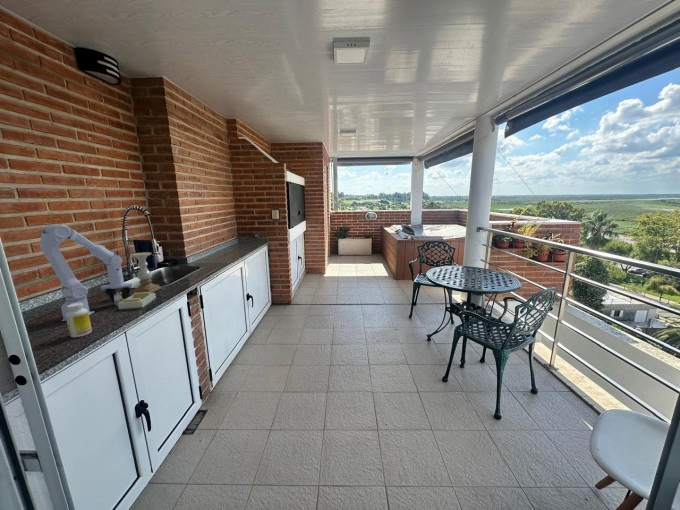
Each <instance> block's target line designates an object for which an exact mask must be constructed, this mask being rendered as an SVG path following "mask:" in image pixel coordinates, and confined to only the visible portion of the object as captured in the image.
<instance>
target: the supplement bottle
mask: <svg viewBox="0 0 680 510" xmlns="http://www.w3.org/2000/svg"><path fill="white" fill-rule="evenodd" d="M67 309H68V310H69V312H67V313H66V320H67V321H66V323H67V328H68V332H69V336H70V337H71V338H81V337H83V336H86V335H89V334H91V333H92V331H93V328H92V324H91V319H90V315H89V314H88V310H87V309H85V308H83V303H75V304H71V305H68V306H67Z"/></svg>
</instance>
